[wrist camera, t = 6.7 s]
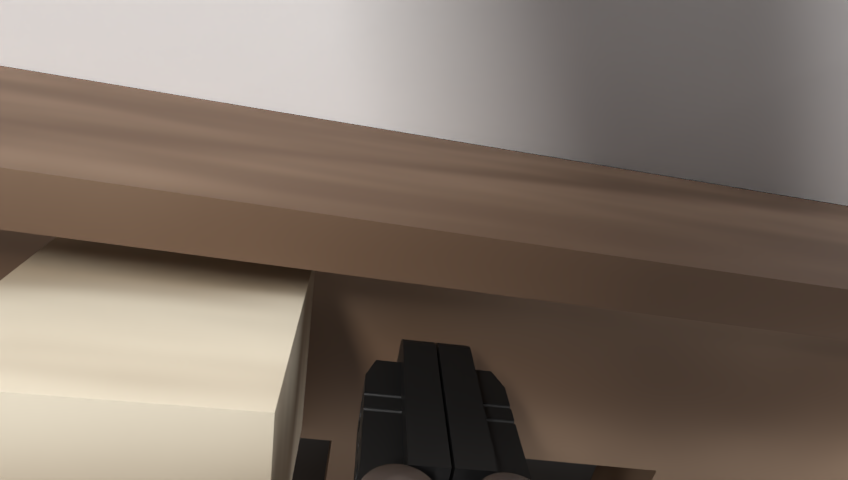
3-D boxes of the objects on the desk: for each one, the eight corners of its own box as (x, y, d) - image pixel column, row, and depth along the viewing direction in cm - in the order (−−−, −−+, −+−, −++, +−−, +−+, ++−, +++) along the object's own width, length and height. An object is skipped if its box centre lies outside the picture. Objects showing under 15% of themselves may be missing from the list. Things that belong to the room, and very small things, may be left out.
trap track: (-336, 10, 12) (-922, 35, 7) (910, 216, 16) (1177, 336, 11) (-167, 502, 18) (-402, 724, 13) (709, 563, 22) (815, 752, 17)
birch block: (72, 224, 12) (-130, 381, 7) (316, 251, 12) (274, 412, 8) (93, 412, 14) (-54, 628, 9) (301, 428, 14) (262, 637, 10)
